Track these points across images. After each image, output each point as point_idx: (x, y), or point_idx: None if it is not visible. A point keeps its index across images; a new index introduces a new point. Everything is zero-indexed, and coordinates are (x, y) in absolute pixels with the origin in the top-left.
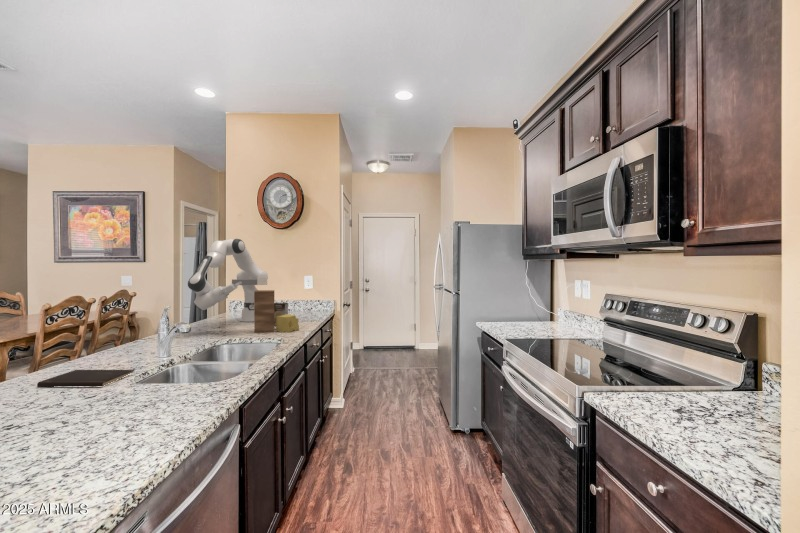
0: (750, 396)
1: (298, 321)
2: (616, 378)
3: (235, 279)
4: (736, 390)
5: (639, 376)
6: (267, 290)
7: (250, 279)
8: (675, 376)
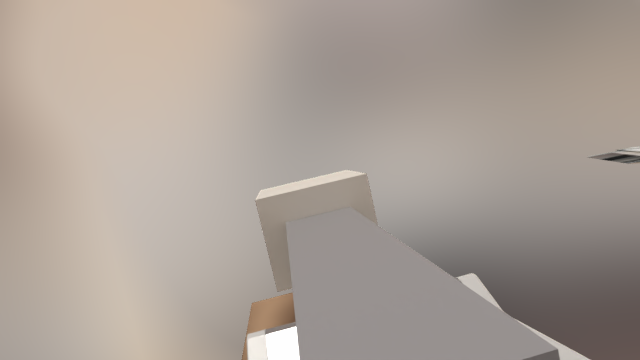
0: (636, 148)
1: None
2: (631, 161)
3: (341, 337)
4: (623, 150)
5: (612, 160)
6: (287, 316)
7: (353, 222)
8: (597, 158)
